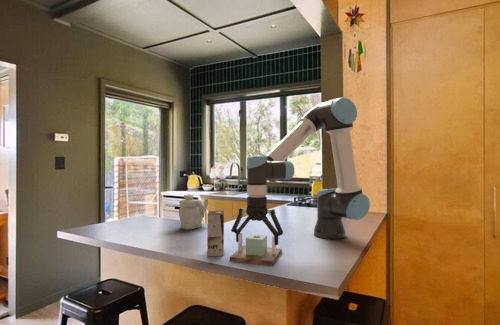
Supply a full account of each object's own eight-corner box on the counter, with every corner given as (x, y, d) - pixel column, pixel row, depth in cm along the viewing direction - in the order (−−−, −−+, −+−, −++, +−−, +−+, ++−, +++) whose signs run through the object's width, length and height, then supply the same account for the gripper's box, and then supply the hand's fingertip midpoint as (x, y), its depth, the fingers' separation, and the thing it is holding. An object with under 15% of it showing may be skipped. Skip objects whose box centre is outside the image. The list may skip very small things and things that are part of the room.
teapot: (207, 223, 176) (207, 191, 176) (209, 229, 161) (209, 194, 161) (178, 225, 172) (178, 192, 172) (178, 230, 158) (178, 195, 158)
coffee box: (223, 256, 115) (223, 214, 115) (206, 256, 114) (207, 214, 114) (223, 249, 124) (223, 210, 124) (208, 249, 123) (208, 210, 123)
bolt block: (281, 252, 119) (281, 237, 119) (272, 265, 104) (272, 248, 104) (243, 249, 124) (243, 234, 124) (229, 261, 109) (229, 244, 109)
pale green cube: (266, 251, 116) (266, 234, 116) (262, 255, 110) (262, 238, 110) (251, 249, 118) (251, 233, 118) (245, 254, 112) (245, 237, 112)
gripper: (290, 195, 114) (290, 252, 114) (230, 194, 121) (229, 246, 121) (287, 198, 107) (287, 257, 107) (223, 195, 114) (223, 251, 114)
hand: (256, 252), depth 114 cm, fingers closed on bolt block, 13 cm apart
